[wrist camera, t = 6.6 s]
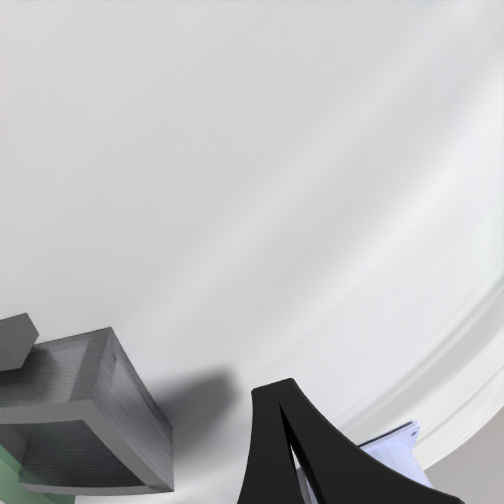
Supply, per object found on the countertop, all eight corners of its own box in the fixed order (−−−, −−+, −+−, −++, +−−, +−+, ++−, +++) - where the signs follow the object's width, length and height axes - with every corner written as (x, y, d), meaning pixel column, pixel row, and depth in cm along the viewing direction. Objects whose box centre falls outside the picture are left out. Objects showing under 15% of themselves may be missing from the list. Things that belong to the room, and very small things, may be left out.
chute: (171, 427, 13) (174, 491, 10) (41, 440, 12) (28, 490, 9) (111, 326, 10) (90, 398, 7) (-26, 357, 10) (-57, 408, 6)
